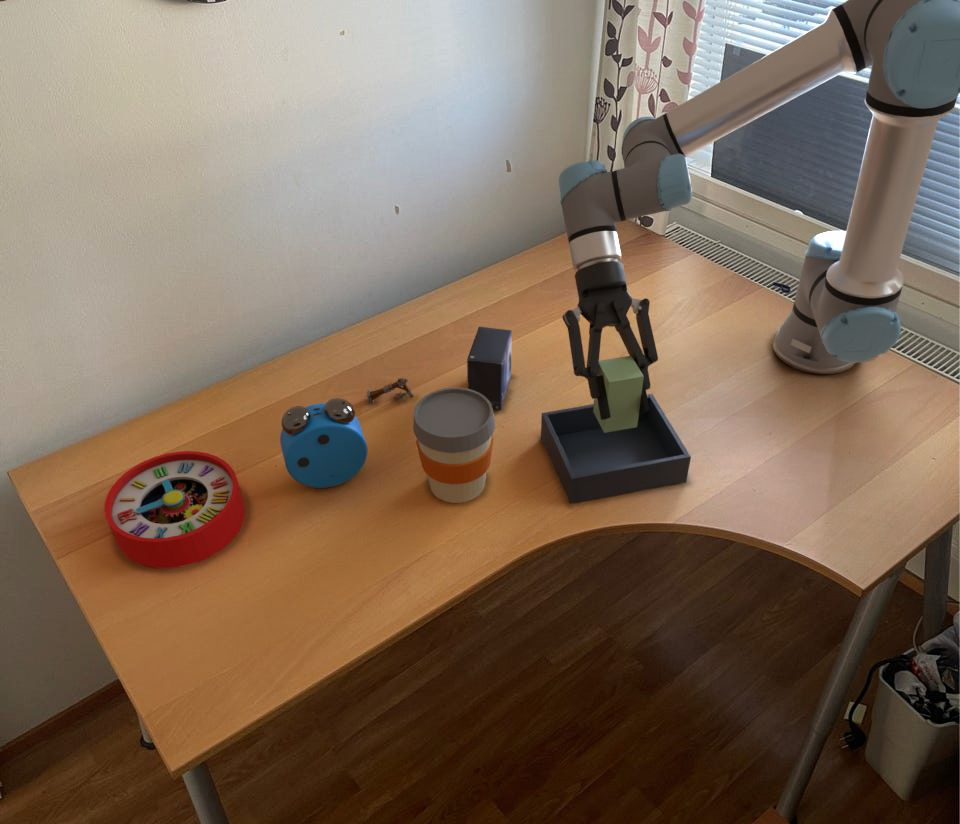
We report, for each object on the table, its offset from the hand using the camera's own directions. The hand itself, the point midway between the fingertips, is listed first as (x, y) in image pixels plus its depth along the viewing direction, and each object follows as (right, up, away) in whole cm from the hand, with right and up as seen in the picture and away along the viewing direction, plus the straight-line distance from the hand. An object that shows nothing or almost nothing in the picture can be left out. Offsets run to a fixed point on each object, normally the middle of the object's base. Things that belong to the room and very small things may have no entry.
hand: (625, 414), depth 139 cm
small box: (-20, +6, +25) cm, 33 cm away
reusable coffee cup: (-26, -11, +8) cm, 29 cm away
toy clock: (-69, -17, +4) cm, 71 cm away
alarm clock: (-47, -10, +10) cm, 49 cm away
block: (-1, 0, +5) cm, 5 cm away
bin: (0, -6, +11) cm, 13 cm away
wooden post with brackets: (-39, +5, +25) cm, 46 cm away
